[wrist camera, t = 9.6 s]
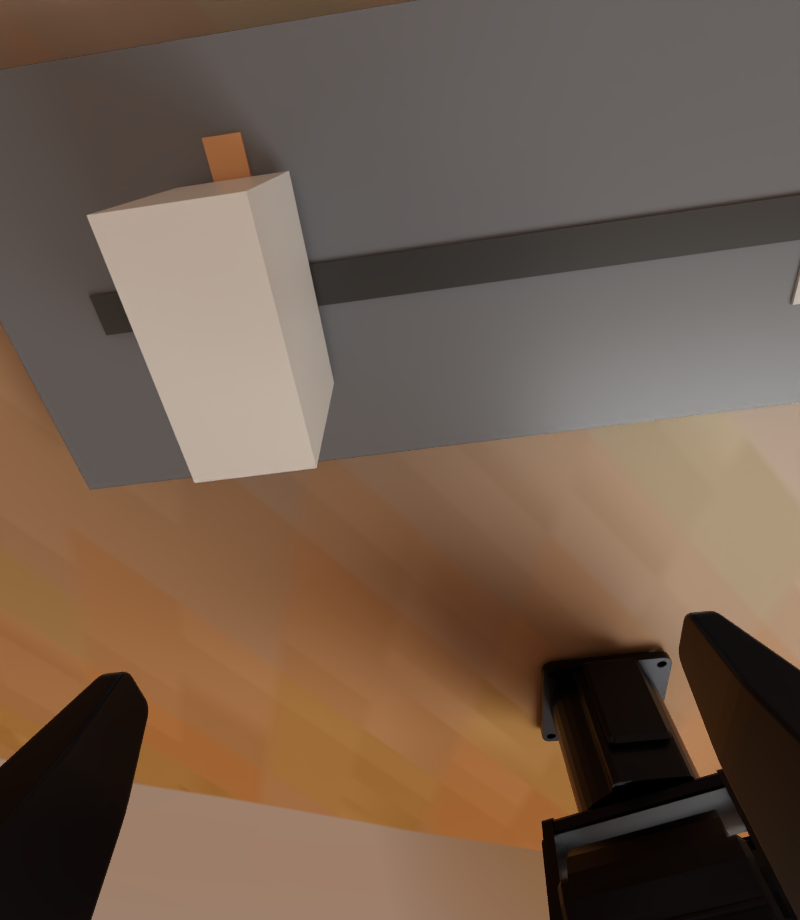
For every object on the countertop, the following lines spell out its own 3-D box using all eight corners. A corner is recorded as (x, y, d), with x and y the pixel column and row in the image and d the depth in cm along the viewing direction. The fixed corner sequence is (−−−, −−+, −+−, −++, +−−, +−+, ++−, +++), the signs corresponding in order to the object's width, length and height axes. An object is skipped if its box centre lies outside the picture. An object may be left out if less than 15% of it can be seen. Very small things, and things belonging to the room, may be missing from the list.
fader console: (910, 360, 20) (962, 383, 18) (113, 460, 21) (88, 491, 19) (1088, -96, 13) (1197, -131, 12) (-65, 93, 15) (-127, 89, 13)
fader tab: (334, 382, 17) (316, 468, 13) (242, 394, 17) (194, 483, 13) (289, 170, 14) (246, 191, 10) (176, 187, 14) (86, 215, 10)
